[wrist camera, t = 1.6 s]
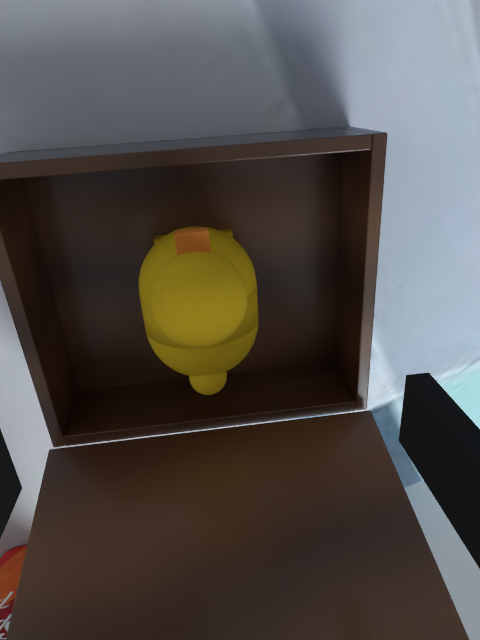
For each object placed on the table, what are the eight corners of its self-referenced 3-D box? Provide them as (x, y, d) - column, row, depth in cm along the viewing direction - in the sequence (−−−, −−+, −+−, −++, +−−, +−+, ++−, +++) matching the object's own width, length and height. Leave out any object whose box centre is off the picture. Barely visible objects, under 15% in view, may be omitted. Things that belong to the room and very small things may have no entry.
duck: (251, 339, 29) (280, 440, 21) (158, 349, 29) (147, 457, 20) (243, 191, 25) (273, 240, 17) (134, 200, 25) (107, 255, 16)
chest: (6, 152, 24) (-37, 165, 19) (350, 126, 25) (388, 132, 20) (72, 394, 31) (53, 447, 26) (340, 364, 32) (366, 409, 27)
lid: (-64, 935, 13) (3, 919, 16) (546, 817, 14) (493, 824, 18) (48, 449, 25) (73, 496, 29) (370, 410, 27) (358, 459, 30)
